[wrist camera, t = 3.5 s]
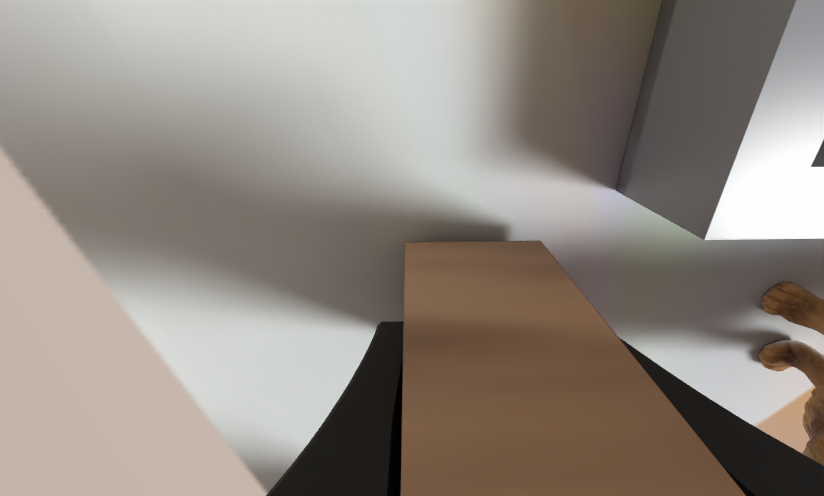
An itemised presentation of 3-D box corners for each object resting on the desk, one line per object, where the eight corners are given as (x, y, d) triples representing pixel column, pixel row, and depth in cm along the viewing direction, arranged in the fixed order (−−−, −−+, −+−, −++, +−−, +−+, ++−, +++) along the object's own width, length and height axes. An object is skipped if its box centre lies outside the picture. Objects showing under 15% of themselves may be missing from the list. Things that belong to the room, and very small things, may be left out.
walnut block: (523, 346, 12) (687, 730, 5) (406, 348, 12) (405, 736, 5) (540, 240, 11) (827, 596, 3) (404, 242, 11) (399, 603, 3)
